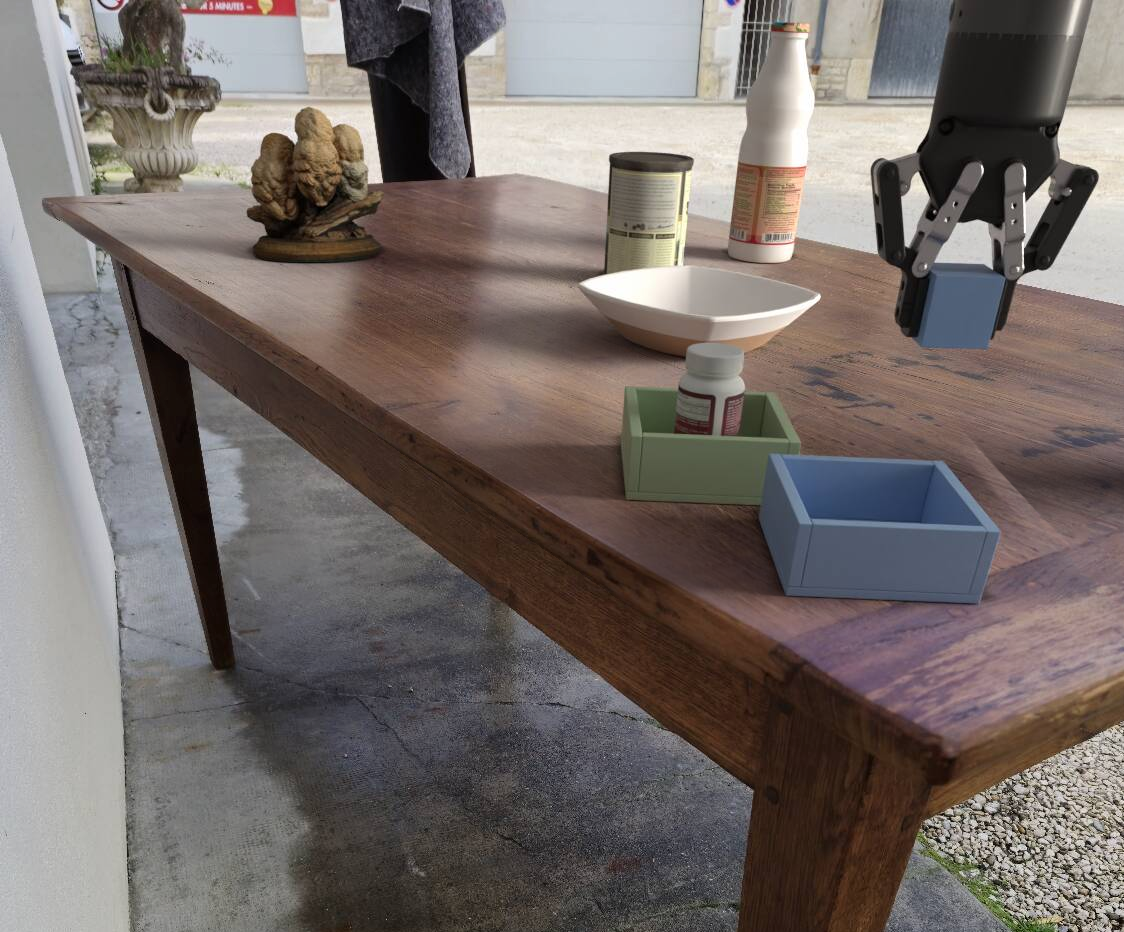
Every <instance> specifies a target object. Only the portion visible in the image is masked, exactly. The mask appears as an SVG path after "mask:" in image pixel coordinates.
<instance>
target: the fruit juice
mask: <svg viewBox="0 0 1124 932" xmlns="http://www.w3.org/2000/svg"><path fill="white" fill-rule="evenodd" d="M809 34H810V23H807V22H786V21H773V22H772V23H771V27H770V38H771V44H770V46H769V49H768V51H767V54H766V56H765V58H764V61H763V64H762V66H761V68H760V71H759V72H758V75H757V76H756V79H755V80H754V81H753V83H752V85H751V87H750V88H749V90H748V92H747V95H746V100H745V101H746V102H745V114H746V115H745V117H746V128H745V131H744V132H743V135H742V137H741V140H740V145H739V150H738V157H737V168H736V175H735V183H734V191H733V199H732V200H733V201H732V210H731V218H730V225H729V226H730V227H729V233H728V234H729V235H728V243H727V254H728V256H729V257H730V258H732V259H735V260H738V261H743V262H749V263H758V264H780V263H785V262H789V261H791V259H792V257H793V254H794V250H795V244H796V235H797V229H798V223H799V217H800V212H801V211H800V210H801V204H802V197H803V190H804V185H805V177H806V171H807V165H808V158H809V148H810V147H809V143H810V142H809V136H808V127H809V123H810V121H811V119H812V116H813V113H814V110H815V103H816V102H815V101H816V97H815V96H816V95H815V91H814V89H813V86H812V83H811V79H810V74H809V68H808V60H807V52H806V41H807V39H808V38H809Z"/></svg>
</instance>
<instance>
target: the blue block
mask: <svg viewBox="0 0 1124 932" xmlns="http://www.w3.org/2000/svg"><path fill="white" fill-rule="evenodd" d="M927 277H928V278H929V279H930V283H929V288H928V293H927V297H926V302H925V307H924V311H923V316H922V321H921V325H920V330H919V334H918V336H917V337H910V338H911V339H912V340H913V341H914V342H915V343H916V344H917V345H918V346H919V347H920V348H927V349H930V348H931V349H957V350H958V349H959V350H960V349H962V350H988V349H989V347H990V346H989V345H990V342H991V340H990V338H991V334H992V330H993V326H994V322H995V318H996V314H997V310H998V306H999V302H1000V298H1001V294H1002V290H1003V286H1004V282H1005V277H1004V276H1002V275H1000V274H999V273H997V272H996V271H994V270H993V268H991V267H989V266H988V265H986V264H985V263H965V262H964V263H962V262H959V263H958V262H934V264H933V266H932V268H931V270H930V271H929V273H928V274H927Z"/></svg>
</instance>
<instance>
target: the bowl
mask: <svg viewBox="0 0 1124 932" xmlns="http://www.w3.org/2000/svg"><path fill="white" fill-rule="evenodd" d="M577 288H578V289H579V291H580V292H581V293H582V294H583V295H584V296H585V297H586V298H587V299H588V300H589V302H590V303H591V304H592V305H593V306H594V307H595V308H596V309H597V310H598V311H599V312H600V313H601V314H602V316H604V317H605V318H606V319H607V321H608V322H610V324H611V325H612V326H613V327H614V328H615V329H616V331H618V333H619V334H621V336H622V337H623V338H624V339H626V340H627V341H630V342H631V343H633V344H636V345H638V346H641V347H643V348H646V349H649V350H653V351H655V352H656V351H657V352H659V353H662V354H668V355H672V356H677V357H682V358H686V355H687V348H688V347H689V346H691V345H693V344H698V343H723V344H729V345H734V346H736V347H739V348H741V349H742V350H743V351H744V354H746V353H749V352H751V351H753V350H755V349H757V348H760V347H762V346H764V345H765V344H767V342H769V341H770V340H772V338H773V337H775V336H776V335H777V334H779V333H781V331H782V330H784V329H785V328H786V327H788V326H789V325H790V324H792V323H793V322H794V321H796V320H797V319H798V318H799V317H800V316H801V315H803V314H804V313H805V312H807V311H808V310H809V309H810V308H812V307H813V306H814V305H815V304H816V303H817V302H819V301H820V300H821V294H820V293H818V292H816V291H813V290H811V289H808V288H805V287H803V286H798V285H795V284H792V283H788V282H785V281H779V280H776V279H772V278H767V277H763V276H758V275H753V274H748V273H743V272H739V271H733V270H728V269H722V268H716V267H707V266H701V265H691V264H685V265H684V264H683V265H680V266H662V267H652V268H643V269H635V270H628V271H621V272H616V273H611V274H606V275H604V274H602V275H598V276H594V277H590V278H587V279H585V280H583V281H581V282H579V283H578V284H577Z"/></svg>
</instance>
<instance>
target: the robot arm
mask: <svg viewBox="0 0 1124 932" xmlns="http://www.w3.org/2000/svg"><path fill="white" fill-rule="evenodd" d="M1093 4H1094V0H952V2H951V4H950V8H949V13H948V18H947V19H948V29H947V34H946V39H945V44H944V49H943V55H942V60H941V65H940V68H939V69H940V70H939V74H938V75H939V76H938V80H937V83H936V84H937V85H936V89H935V95H934V100H933V103H932V104H933V106H932V110H931V115H930V121H929V126H928V129H927V132H926V134H925V135H924V137H923V139H922V141H921V142H920V143H919V145H918V147H917V148H916V151H915V152H913V153H910V154H906V155H902V156H900V157H896V158H892V159H887V158H885V157H880V158H876V159H875V160H874V161H873V162H872V164H871V166H870V180H871V181H870V182H871V193H872V204H873V215H874V225H875V226H874V227H875V239H876V248H877V255H878V256H879V257H880V258H881V259H882V260H883V261H885V262H886V263H887V264H888V265H889V266H892V267H896V268H897V269H900V271H901V279H900V283H899V289H898V293H897V300H896V303H895V309H894V313H893V316H894V322H895V323H896V325H897V326H899V328H900V332H901V334H902V335H903V336H904V337H905V338H911V337H917V336H918V334H919V330H920V325H921V321H922V316H923V311H924V307H925V302H926V297H927V293H928V288H929V283H930V279H929V278H928V277H927V274H928V273H929V271H930V270H931V268H932V266H933V264H934V263H936V259H937V258H938V256H939V253H941V250H942V248H943V246H944V245H945V243H947V242H948V241H949V239H950V237H951V235H953V234H952V233H953V232H954V230H955V228H956V226H957V224H965V223H970V222H974V221H981V222H984V223H986V224H987V225H988V234H989V237H990V241H991V262H992V263H991V265H992V270H994V271H996V272H997V273H999V274H1000V275H1002V276H1004V277H1005V282H1004V286H1003V290H1002V294H1001V298H1000V302H999V306H998V310H997V314H996V318H995V322H994V326H993V330H992V334H991V338H990V341H993V340H994V338H995V336H996V333H997V332H1001V331H1002V330H1003V329H1004V327H1005V326H1006V324H1007V321H1008V317H1009V313H1010V309H1011V305H1012V302H1013V298H1014V294H1015V288H1016V287H1017V286H1016V285H1017V283H1018V281H1019V280H1020V279H1021V278H1022V277H1023V276H1024V275H1026V274H1028V273H1033V272H1035V271H1043V272H1044V271H1047V270H1048V269H1050V268H1051V267H1052V266H1053V264H1054V262H1055V261H1056V259H1057V257H1058V256H1059V253H1060V252H1061V250H1062V248H1063V247H1064V245H1065V243H1066V241H1067V239H1068V237H1069V236H1070V233H1071V232H1072V231H1073V228H1074V226H1075V225H1076V223H1077V221H1078V219H1079V218H1080V216H1081V214H1082V212H1083V210H1084V208H1085V207H1086V205H1087V203H1088V201H1089V199H1090V197H1091V195H1092V194H1093V192H1094V190H1095V188H1096V187H1097V185H1098V182H1099V180H1100V173H1099V172H1098V171H1097V169H1094V168H1092V167H1090V166H1087V165H1084V164H1079V163H1075V164H1074V163H1072V162H1069V161H1067V160H1065V159H1062V158H1061V152H1060V148H1059V141H1058V140H1059V139H1058V137H1059V131H1060V127H1061V124H1062V122H1063V119H1064V116H1065V113H1066V107H1067V104H1068V101H1069V96H1070V93H1071V90H1072V89H1071V88H1072V85H1073V81H1074V76H1075V72H1076V70H1077V69H1076V68H1077V66H1078V61H1079V59H1080V54H1081V50H1082V46H1083V43H1084V38H1085V36H1086V35H1085V34H1086V30H1087V27H1088V22H1089V18H1090V14H1091V10H1092V7H1093ZM916 173H919V177H920V179H921V181H922V183H923V186H924V188H925V190H926V193H927V195H928V197H929V199H928V201H927V202H926V205H925V207H924V209H923V211H922V213H921V215H920V217H919V219H918V222H917V224H916V230H915V233H914V235H913V237H912V239H911V241H910V244H909V245H908V246H906V242H905V241H906V240H905V230H904V229H905V228H904V215H903V201H902V200H903V199H902V197H904V196H906V195H907V194H908V193H909V191H910V189H911V186H912V180H913V178H914V176H915V175H916ZM1049 178H1050V182H1049V186H1048V188H1047V189H1048V190H1047V194H1048V196H1049V198H1050V199H1049V201H1048V203H1047V204H1046V207H1045V209H1044V211H1043V212H1042V215H1040V216H1041V217H1040V218H1039V220H1038V222H1037V224H1036V226H1035V228H1034V230H1033V231H1032V233H1031V235H1030V237H1029V239H1028V241H1027V242H1026V245H1025V246H1024V239H1025V238H1026V235H1027V234H1026V233H1027V231H1026V203H1027V202H1028V201H1029V200H1030V198H1031V197H1032V196H1034V194H1035V193H1037V191H1038V190H1039V189H1040V188H1041V186H1042V185H1043V184H1044V183H1045V182H1047V180H1048V179H1049Z"/></svg>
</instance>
